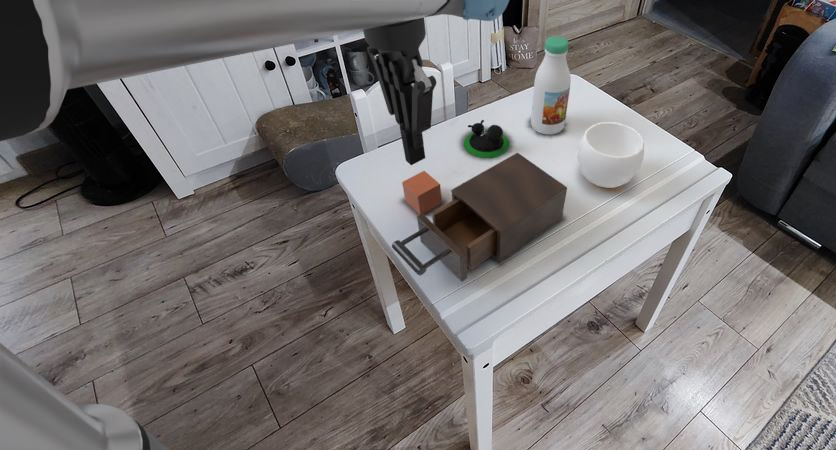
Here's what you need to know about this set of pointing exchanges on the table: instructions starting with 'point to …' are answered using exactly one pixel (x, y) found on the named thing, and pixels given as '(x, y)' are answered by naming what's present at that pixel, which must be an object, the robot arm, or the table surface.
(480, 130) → the toy figurine
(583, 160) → the cup
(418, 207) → the block
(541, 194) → the cabinet
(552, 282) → the table surface
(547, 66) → the milk bottle
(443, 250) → the drawer
